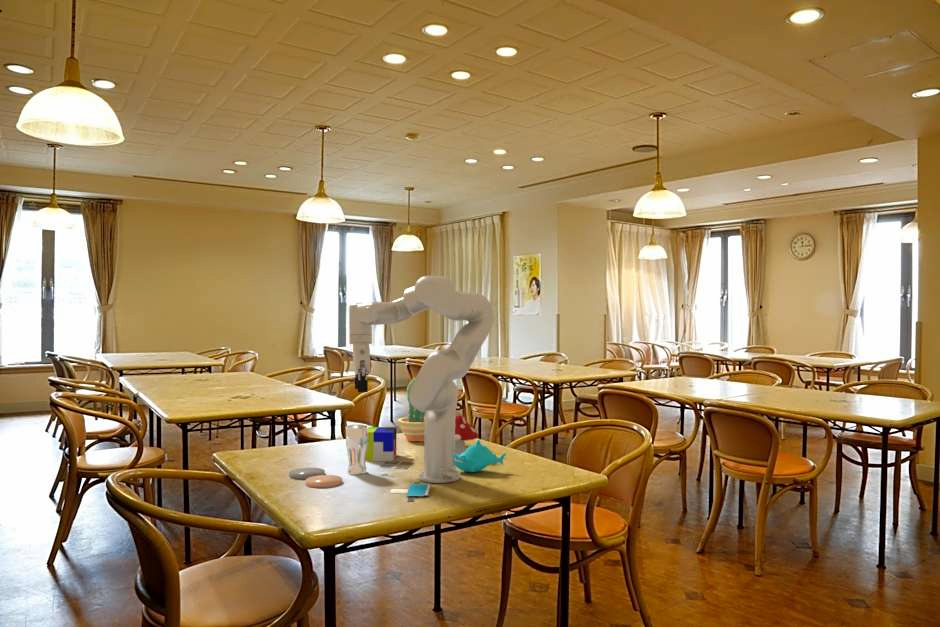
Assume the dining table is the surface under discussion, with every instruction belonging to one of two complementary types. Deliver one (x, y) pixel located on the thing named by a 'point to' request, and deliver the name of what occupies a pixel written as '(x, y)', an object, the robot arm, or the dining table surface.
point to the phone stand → (414, 490)
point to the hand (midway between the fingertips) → (361, 390)
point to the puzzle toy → (381, 444)
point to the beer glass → (356, 448)
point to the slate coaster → (306, 473)
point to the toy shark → (476, 458)
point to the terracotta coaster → (323, 481)
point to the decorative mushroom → (463, 434)
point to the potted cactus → (413, 421)
